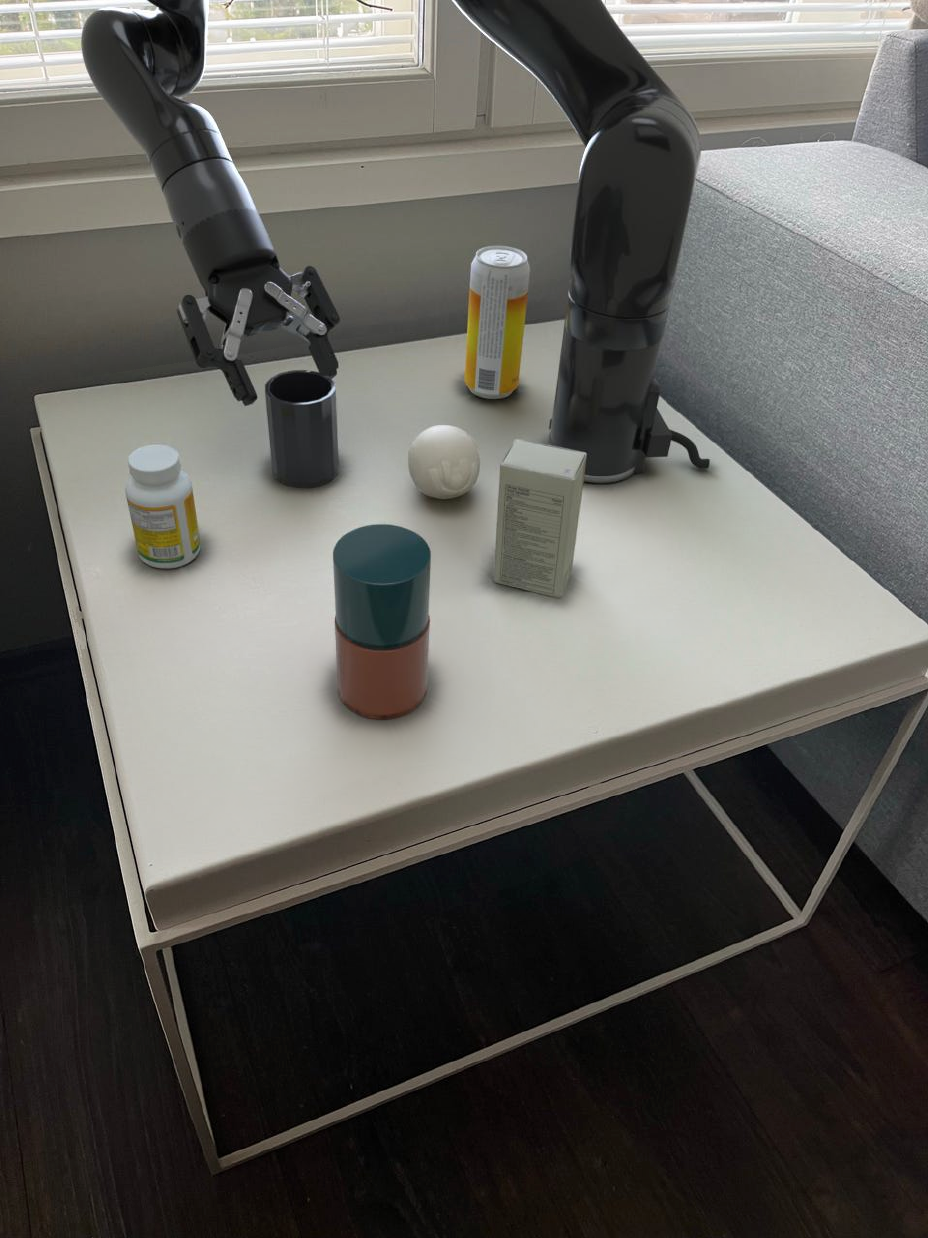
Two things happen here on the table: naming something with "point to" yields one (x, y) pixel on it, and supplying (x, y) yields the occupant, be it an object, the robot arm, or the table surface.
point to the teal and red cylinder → (382, 619)
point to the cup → (302, 427)
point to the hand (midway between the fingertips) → (292, 389)
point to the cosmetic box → (538, 516)
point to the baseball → (444, 462)
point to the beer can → (496, 321)
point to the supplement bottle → (162, 507)
